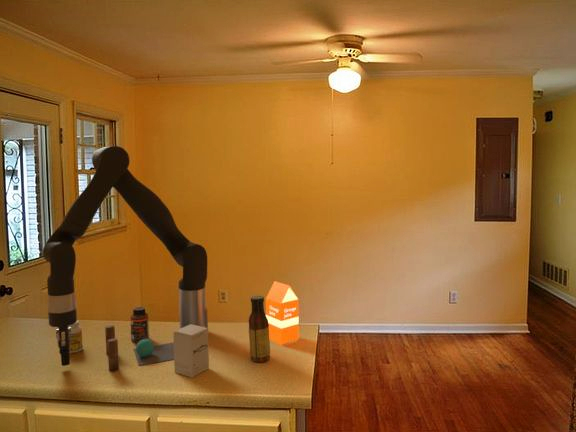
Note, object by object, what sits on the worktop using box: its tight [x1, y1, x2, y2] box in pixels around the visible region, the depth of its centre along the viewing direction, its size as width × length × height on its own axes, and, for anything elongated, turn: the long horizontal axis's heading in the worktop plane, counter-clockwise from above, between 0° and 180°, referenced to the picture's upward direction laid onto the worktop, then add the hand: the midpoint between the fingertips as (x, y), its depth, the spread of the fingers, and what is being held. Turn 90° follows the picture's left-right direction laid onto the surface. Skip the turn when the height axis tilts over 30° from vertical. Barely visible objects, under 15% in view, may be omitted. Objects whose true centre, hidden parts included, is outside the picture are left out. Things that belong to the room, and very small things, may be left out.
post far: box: [104, 324, 116, 356], centre depth 148 cm, size 3×3×9 cm
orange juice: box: [265, 280, 300, 346], centre depth 159 cm, size 8×9×20 cm
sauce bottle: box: [248, 295, 271, 363], centre depth 142 cm, size 6×6×20 cm
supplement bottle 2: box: [130, 306, 150, 343], centre depth 160 cm, size 6×6×11 cm
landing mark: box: [133, 341, 174, 367], centre depth 148 cm, size 14×14×1 cm
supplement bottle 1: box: [68, 319, 84, 354], centre depth 151 cm, size 5×5×10 cm
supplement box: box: [172, 324, 210, 378], centre depth 135 cm, size 7×7×13 cm
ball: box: [135, 339, 155, 357], centre depth 146 cm, size 6×6×6 cm
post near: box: [107, 338, 120, 373], centre depth 136 cm, size 3×3×9 cm
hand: (65, 364), depth 137 cm, fingers closed
